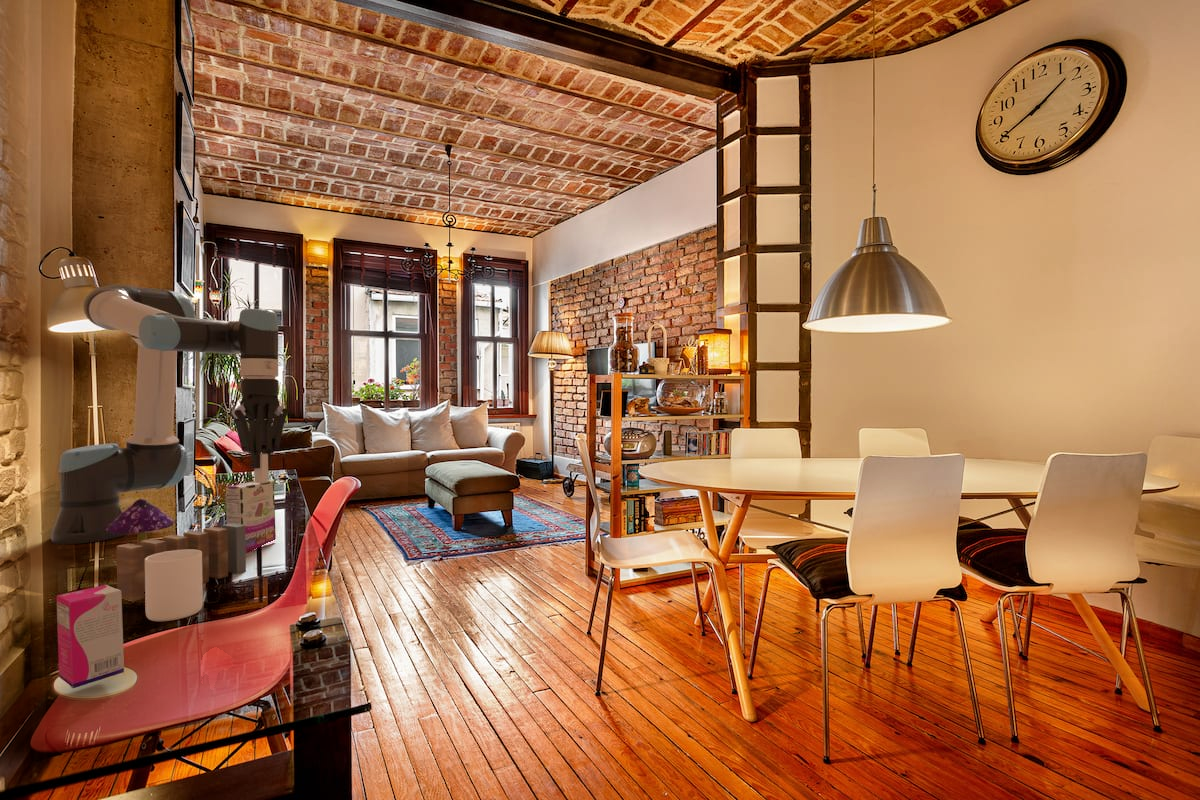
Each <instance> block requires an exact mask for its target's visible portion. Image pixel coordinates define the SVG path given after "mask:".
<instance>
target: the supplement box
mask: <svg viewBox="0 0 1200 800" xmlns="http://www.w3.org/2000/svg"><path fill="white" fill-rule="evenodd" d="M122 603H123V600H122V598H121V590H119V589H117V588H115V587H112V586H110V585H108V584H102V585H98V586H93V587H89V588H84V589H80V590H76V591H71V592H67V593H63V594H57V595H56V621H57V622H56V624H57V630H56V631H57V648H58V649H57V650H58V651H57V654H58V677H59V678H60V679H61V680H63V682H65V683H66V684H68V686H70V687H71V688H72V689H75V688H80V687H82V686H85V685H88V684H92V683H94V682H97V681H101V680H103V679H107V678H110V677H113V676H117V675H120V674H123V673H124V672H125V662H124V661H125V660H124V655H125V654H124V653H125V652H124V651H125V650H124V628H123V604H122Z"/></svg>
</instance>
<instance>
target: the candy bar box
mask: <svg viewBox="0 0 1200 800" xmlns="http://www.w3.org/2000/svg"><path fill="white" fill-rule="evenodd" d="M224 489H225V490H224V491H225V493H224V495H225V515H226V517H225V518H226V522H225V523H226V524H230V523H232V524H239V525H245V533H246V554H247V553H251V552H253V551H252V550H254V549H256V548H258V547H260V546H262V545H264V544H266V543H268V542H271V541H273V540H275V539H276V538H277V537H276V511H275V510H276V509H275V508H276V507H275V504H276V503H275V502H276V501H275V480H269V479H268V483H255V480H254V481H249V482H244V483H239V484H235V485H230V486H226V487H225V488H224ZM250 551H251V552H250ZM254 551H255V550H254Z"/></svg>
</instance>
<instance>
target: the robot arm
mask: <svg viewBox="0 0 1200 800" xmlns="http://www.w3.org/2000/svg"><path fill="white" fill-rule="evenodd" d="M82 308H83V313H84V314H85V317H86V318H87V319H88V320H89V322H90V323H93V325H95V326H98V328H99V327H100V328H102V329H105V330H109V331H121V332H123V333H126V334H128V335H131V339H132V340H133V341H134V342H135V343H136V344H137V366H136V386H135V405H134V422H133V424H134V426H133V427H134V428H133V433H132V435H131V436H130V437H128V438H127V439H126V442H125V443H126V444H125V447H122V448H120V446H119V444H118V443H101V444H92V445H85V446H81V447H76V448H71V449H68V450H65V451H64V452H63V453H61V455H60V457H59V467H58V470H57V471H58V473H59V503H60V504H59V506H60V508H59V512H58V514H57V517H56V521H55V523H54V526H53V528H52V530H51V534H50V535H51V537H50V538H51V539H50V540H51V542H52V543H53V544H58V545H74V544H75V545H76V544H86V543H96V542H101V541H102V542H103V541H108V540H112V539H117V538H120V537H124V536H127V534H113V533H109V532H108V531H107V530H106V528H107V527H108V526H109V525H110V524H111V523H112V522H113V521H114V520H115V519H116V518H117V517H118V516H119V515H121V514H122V513H123V512H124V511H123V509H122V508H121V505H120V494H121V493H129V492H136V491H138V492H139V491H147V490H153V489H156V490H159V489H162V488H163V489H164V488H168V487H173V486H176V485H178V484H179V483H180V481H182V480H183V479H184V477H185V474H186V472H187V468H188V462H189V461H188V460H189V459H188V458H189V457H188V455H187V452H188V451H187V450H186V448H185V447H184V445H182V444H180V439H179V438H178V437H176V436H175V434H174V419H175V418H174V416H175V399H176V398H175V395H176V383H177V382H176V380H177V378H176V377H177V362H178V361H177V359H178V352H195V353H210V354H211V353H212V354H220V355H228V356H235V355H237V354H239V355H240V357H239V358H240V367H239V370H240V377H242V378H243V379H241V381H240V394H241V401H240V402H239V403H240V404H239V406H238V407H236V408H235V409H230V410H229V414H230V416H231V417H232V419H233V420H234V424H235V429H236V432H237V437H238V440H239V444H240V448H241V451H242V452H246V453H248V454H249V455H250V462H251V463H250V466H251V469H254V470H253V471H254V473H253V475H254V479H253V480H254V481H255V483H268V480H269V468H270V467H271V466H272V454H273V453H275V451H276V450H279V449H280V446H281V440H282V436H283V431H284V426H285V420H286V418H287V417H288V414H289V413H290V409H289V408H287V407H283V406H281V405H280V401H279V399H278V398H279V397H278V396H279V391H280V388H279V387H280V386H279V385H280V384H279V383H280V382H279V380H278V379H277V377H279V329H280V328H279V326H278V315H277V313H276V312H275V311H273V310H271V309H263V308H262V309H261V308H244V309H242V310H241V311H240V313H239V318H238V320H237V321H235V320H233V321H230V320H218V319H207V318H196V313H195V309H194V306H193V304H192V302H191V299H189V297H188V296H186V295H185V294H184V293H182V292H178V291H175V290H174V291H173V290H167V289H157V288H152V287H150V288H149V287H141V286H135V285H134V286H132V285H131V286H130V285H126V284H125V285H124V284H108V285H104V286H100V287H98V288H95V289H94V290H92V291H90V292H89V293H88V294H87V295H86V297H85V299H84V301H83V307H82ZM246 416H247V418H246Z"/></svg>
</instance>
